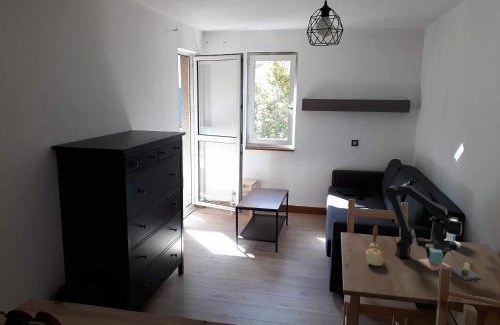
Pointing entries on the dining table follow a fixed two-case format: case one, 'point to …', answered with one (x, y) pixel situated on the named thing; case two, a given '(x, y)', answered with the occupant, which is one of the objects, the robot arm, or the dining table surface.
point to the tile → (432, 264)
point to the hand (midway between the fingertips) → (434, 259)
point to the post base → (464, 276)
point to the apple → (375, 257)
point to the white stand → (451, 236)
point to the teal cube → (435, 256)
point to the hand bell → (374, 240)
